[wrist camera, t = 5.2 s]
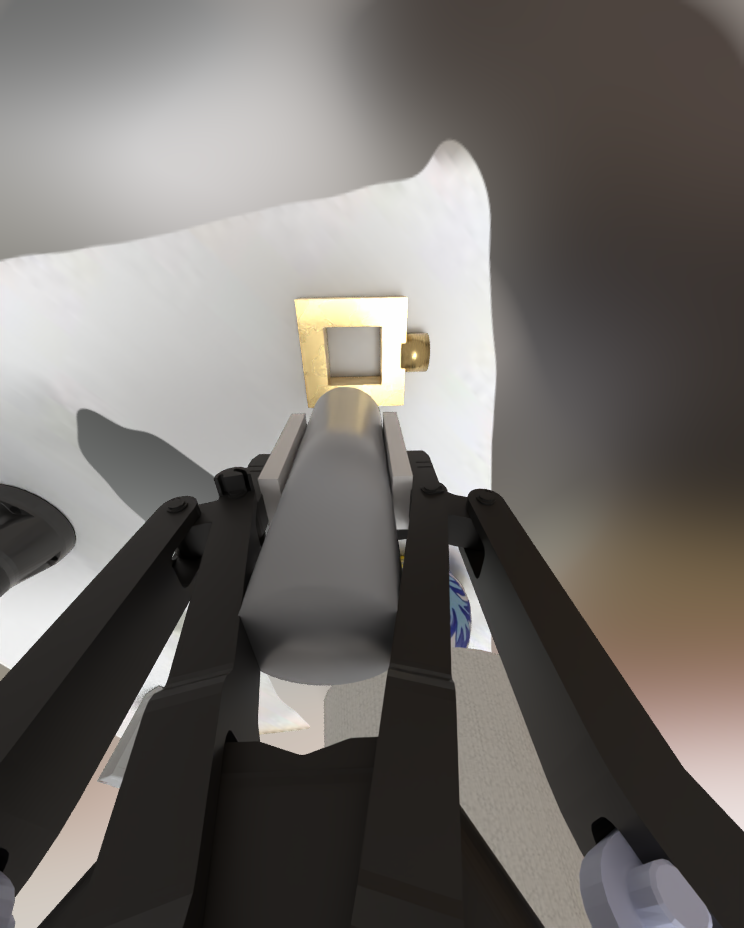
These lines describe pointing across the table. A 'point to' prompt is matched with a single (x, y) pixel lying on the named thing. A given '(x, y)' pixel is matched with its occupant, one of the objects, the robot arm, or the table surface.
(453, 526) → the robot arm
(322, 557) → the grey rounded cylinder
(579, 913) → the table lamp
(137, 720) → the skincare box
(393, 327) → the gold square frame
